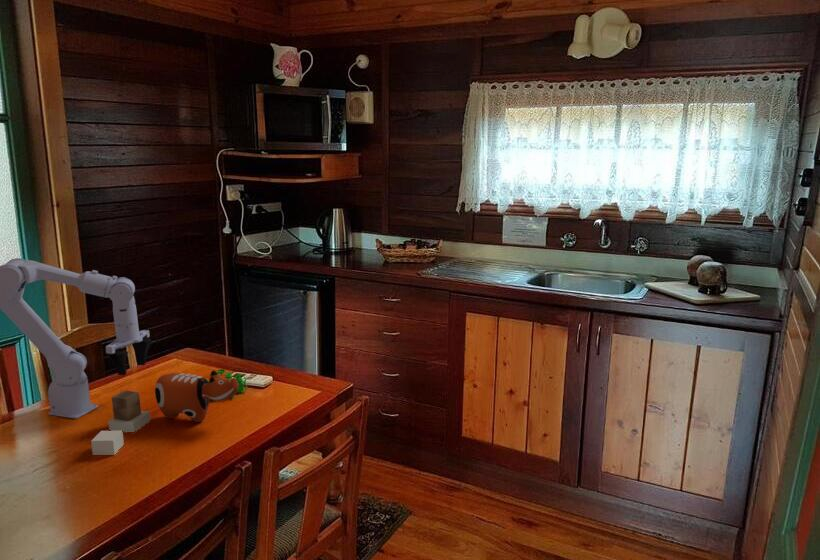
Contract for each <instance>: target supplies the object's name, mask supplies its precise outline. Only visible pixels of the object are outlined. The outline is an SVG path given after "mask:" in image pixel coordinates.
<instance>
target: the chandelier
mask: <svg viewBox="0 0 820 560" xmlns="http://www.w3.org/2000/svg"><path fill="white" fill-rule="evenodd" d="M216 372H217V373H218V374H219V375H220V376H221V377H223V374H225V376H224V378H235V379H236V380H237V381H238V384H239V388H238V391H237V392H236V393H237V394H238V393H241V394H243V393H245V392H246V391H247V389H248V384H247V383H246V382H247V381H246V380H247V379H246V376H244V375H243V374H236V375H235V376H234V377H233V375H232V372H230V371H228V372H227V373H226V370H225V369H218V370H217V371H216ZM205 379H206V380H207V381H208V382H209V380H210V379H208V378H205ZM243 379H244V380H243ZM243 384H245V385H243ZM244 387H245V388H244ZM236 393H235V394H236ZM235 394H234V395H233V396H232V397H230V398H229V399H230V400H233V399H234V398H235ZM211 400H212V402H216V400H213V399H211Z"/></svg>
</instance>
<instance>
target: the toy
mask: <svg viewBox="0 0 820 560" xmlns="http://www.w3.org/2000/svg"><path fill="white" fill-rule="evenodd" d="M206 379H207V378H205V377H203V376H200V375H196V374H192V373H181V372H171V373H165V374H162V375H161V376H160V377H158V379H157V381H156V384H155V388H154V392H155V393H154V394H155V400H156V404H157V406H158V408H159V410H160V412H161V413H162V415H164V416H165V417H166V418H167V419H176V418H178V416H179V415H180V414H183V415H186V416H187V417H188V418H189V419H191V421H192V422H195V423H200V422H203V421H204V420H205V419H206V416H207V413H208V409H209V405H210V404H209V403H210V399H211V400H212V399H213V400H215V402H216V401H217V402H222V401H223V402H224V401H226V400H228V399H231V398H230V397H232V396H233V395H234V396H235V395H236V392H237V391H238V388H239V384H238V381H237V380H236V378H234V377H232V378H225V377H223V376H222V377H221V374H218V373H217V371H215V370H214V369H212V370H211V371H210V376H209V379H208V380H209V382H208V381H207V380H206ZM213 400H212V401H213Z"/></svg>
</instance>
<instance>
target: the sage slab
mask: <svg viewBox="0 0 820 560" xmlns="http://www.w3.org/2000/svg"><path fill="white" fill-rule="evenodd" d="M150 420H152V419H151V412H150V411H147V410H141V414H140V415H138V416H137V417H135V418H133V419H132V420H130V421H124V420H117V419H114V417H112V418H111V419H110V420H108V422H107V423H108V431H109V430H111V431H120V430H122V431H123V433H127V432H135V431H136V432H138V431H139V430H140V429H142V428H143V427H145V426H146V425H147V424H149V423H150V422H151V421H150ZM149 421H150V422H149ZM146 423H147V424H146ZM145 424H146V425H145ZM142 426H143V427H142ZM141 427H142V428H141ZM139 428H140V429H139ZM138 429H139V430H138ZM137 430H138V431H137ZM136 432H135V433H136Z"/></svg>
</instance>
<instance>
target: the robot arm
mask: <svg viewBox="0 0 820 560" xmlns="http://www.w3.org/2000/svg"><path fill="white" fill-rule="evenodd" d="M41 280H43V281H47V282H48V281H49V282H53V283H57V284H65V285H68V286H74V287H77V288H78V290H79V291H80V292H81V293H85V294H88V295H93V296H97V297H101V298H104V299H105V298H109V299H110V300H111V301H112V314H113V323H114V330H115V337H116V338H115V339H114V340H113V341H112V342H110V343H109V344H107V345H106V346H105V356H106V357H107V358H108V359H109V360H110V361H111V362H112V365H113V366H114V368H115V370H116V373H117V375H118V376H126V375H127V357H128V354H129V351H124V350H123V349H124V348H126V347H128V346H130V345H131V346H132V348H133V352H134V355H135V360H136V364H137V366H138V365H139V366H145V365H146V362H147V356H148V351H149V348H150V346H151V344H152V339H151V338H150V330H149V329H148V330H146V329H143V330H140V329H139V320H138V312H137V311H138V310H137V305H136V299H135V296H134V294H135V292H136V286H135V284H134V282H133V281H132V279H129V278H127V277H125V276H122V277H121V276H120V277H118V276H116V275H112V276H109V275H105V274H101V273H99V271H98V270H95V269H92V271H90V270H89V271H84V272H82V273H77V272H74V271H70V270H67V269H64V268H59V267H56V266H53V265H48V264H46V263H41V262H39V261H36V260H31V259H29V260H27V259H23V258H18V257H15V258H12V259H10V260H8V261H7V262H6V263H4V264H2V265H0V310H1V311H2V312H3V313H4V315H6V316H7V317H8V318H9V320H10V321H11V322H12V323H13V324H14V325H15V326H16V327H17V328H18V330H20V331H21V332H22V334H23V335H24V336H25V337H26V338H27V339H28V340H29V341H30V342H31V343H32V344H33V345H34V347H36V349H38V351H39V352H40V353H41V354H42V355H43V356H44V357H45V358H46V359H45V360H46V363H47V366H48V368H49V369H50V370H51V372H52V374H53V378H54V380H53V381H51V382H50V384H49V385H48V389H47V394H48V395H47V396H48V401H49V409H50V411H48V415H50V416H56V417H63V418H69V419H78V418H81V417H83V416H84V415H86V414H88V413H89V412H92V411H93V410H95V409H97V408H98V407H99V404H94V403H91V398H90V397H91V396H90V390H89V389H90V387H89V380H88V376H87V374H86V372H84V371H85V369H86V368H87V365H88V361H87V357H86V356H85V355H84V354H82V353H80V352H78V351H76V350H75V349H73V347H72V346H69V345H66V344H65V343H64V342H63V341H62V340H61V339H60V338H59V337H58V336H57V335H56V334H55V332H54V331H53V330H52V329H51V328H50V327H49V325H48V324H46V323H45V322H44V321H43V319H42V318H41V317H40V316H39V315H38V313H36V312H35V311H34V310H33V308H32V306H31V307H30V305H29V304H28V303H27V301H25V300H24V298H23V296H24V292H25V289H26V288H25V287H26V285H28V284H31V283H34V282H38V281H41Z"/></svg>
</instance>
